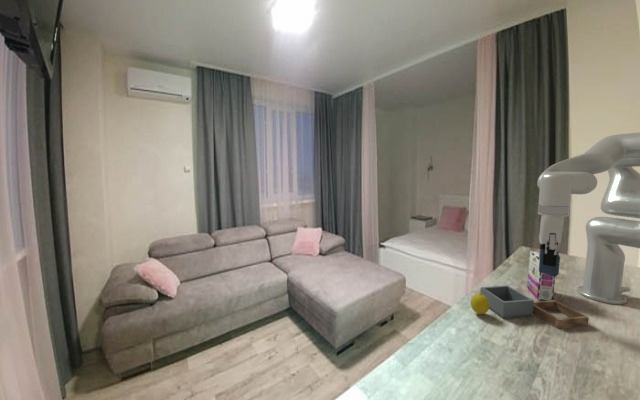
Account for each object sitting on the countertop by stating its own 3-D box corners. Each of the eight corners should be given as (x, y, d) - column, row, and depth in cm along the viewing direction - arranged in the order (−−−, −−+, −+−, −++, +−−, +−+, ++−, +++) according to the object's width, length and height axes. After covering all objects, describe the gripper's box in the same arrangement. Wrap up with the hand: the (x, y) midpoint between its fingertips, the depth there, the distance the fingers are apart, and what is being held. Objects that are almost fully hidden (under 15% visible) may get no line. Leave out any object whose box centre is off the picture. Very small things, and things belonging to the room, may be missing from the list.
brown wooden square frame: (554, 307, 89) (554, 300, 89) (587, 326, 78) (588, 317, 78) (527, 309, 88) (527, 302, 88) (557, 328, 78) (558, 320, 77)
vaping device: (539, 269, 85) (542, 237, 84) (559, 275, 81) (562, 240, 79) (536, 271, 84) (539, 238, 83) (556, 277, 80) (559, 242, 78)
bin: (506, 299, 95) (507, 285, 95) (532, 316, 84) (533, 300, 84) (479, 301, 95) (480, 287, 94) (502, 318, 84) (503, 302, 83)
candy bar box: (554, 302, 92) (557, 261, 90) (537, 300, 94) (540, 260, 92) (541, 289, 102) (544, 251, 100) (526, 287, 104) (529, 250, 102)
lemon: (491, 319, 84) (492, 298, 83) (473, 318, 85) (474, 296, 84) (484, 310, 89) (485, 290, 88) (467, 309, 90) (468, 289, 89)
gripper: (537, 206, 89) (533, 254, 91) (539, 213, 76) (534, 268, 78) (566, 207, 84) (561, 258, 86) (573, 215, 71) (567, 274, 73)
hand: (548, 262), depth 82 cm, fingers closed on vaping device, 3 cm apart
